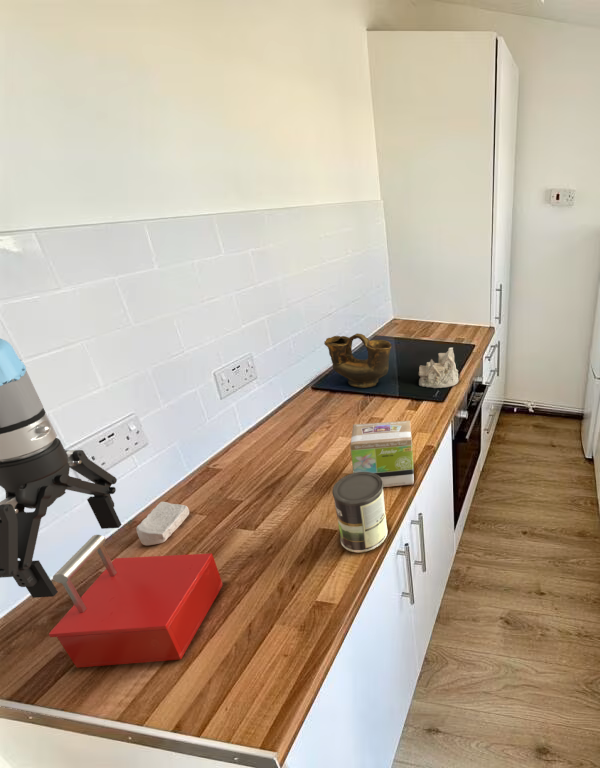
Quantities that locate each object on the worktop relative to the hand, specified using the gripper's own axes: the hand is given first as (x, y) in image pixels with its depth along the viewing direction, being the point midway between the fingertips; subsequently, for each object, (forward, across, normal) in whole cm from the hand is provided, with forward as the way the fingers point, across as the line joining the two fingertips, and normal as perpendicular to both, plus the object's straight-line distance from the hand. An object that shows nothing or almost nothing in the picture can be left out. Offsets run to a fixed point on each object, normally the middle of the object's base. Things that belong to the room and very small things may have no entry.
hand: (81, 558), depth 69 cm
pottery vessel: (+17, +99, -24) cm, 103 cm away
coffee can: (+17, +19, -39) cm, 46 cm away
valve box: (+17, 0, -6) cm, 18 cm away
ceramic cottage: (+17, +101, -53) cm, 115 cm away
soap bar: (+17, +23, +5) cm, 29 cm away
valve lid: (+9, 0, -6) cm, 11 cm away
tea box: (+17, +40, -41) cm, 59 cm away
